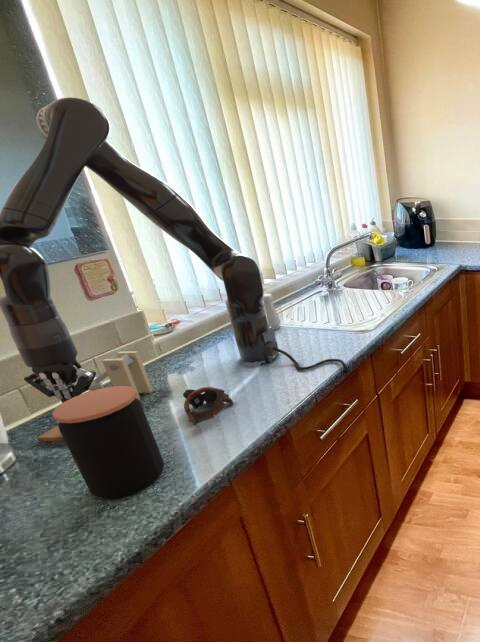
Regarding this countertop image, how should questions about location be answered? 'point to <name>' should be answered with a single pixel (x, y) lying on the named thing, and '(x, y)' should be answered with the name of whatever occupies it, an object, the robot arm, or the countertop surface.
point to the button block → (52, 435)
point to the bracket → (128, 372)
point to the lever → (97, 380)
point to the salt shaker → (271, 312)
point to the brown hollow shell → (209, 396)
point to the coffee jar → (110, 441)
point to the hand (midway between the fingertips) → (76, 410)
